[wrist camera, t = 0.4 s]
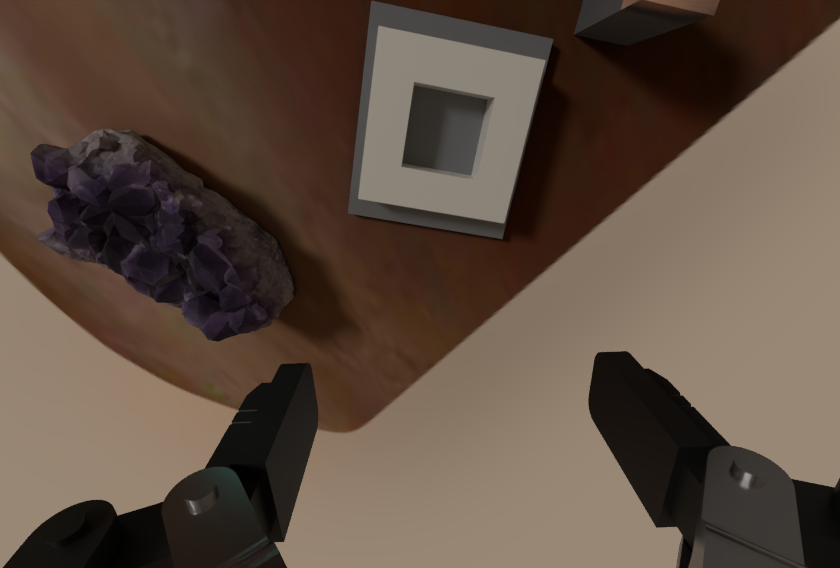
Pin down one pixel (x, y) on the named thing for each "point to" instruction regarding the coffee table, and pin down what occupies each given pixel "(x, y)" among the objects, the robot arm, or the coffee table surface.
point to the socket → (443, 120)
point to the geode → (163, 232)
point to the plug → (638, 18)
